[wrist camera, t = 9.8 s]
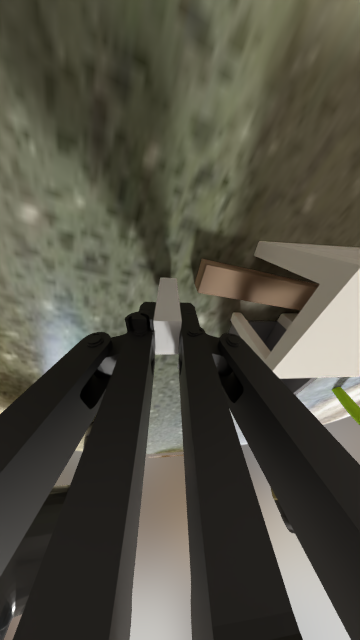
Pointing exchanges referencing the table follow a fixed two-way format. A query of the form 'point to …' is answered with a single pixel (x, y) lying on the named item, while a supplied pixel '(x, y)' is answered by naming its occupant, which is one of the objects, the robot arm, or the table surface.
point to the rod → (252, 285)
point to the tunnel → (310, 316)
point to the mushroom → (348, 403)
